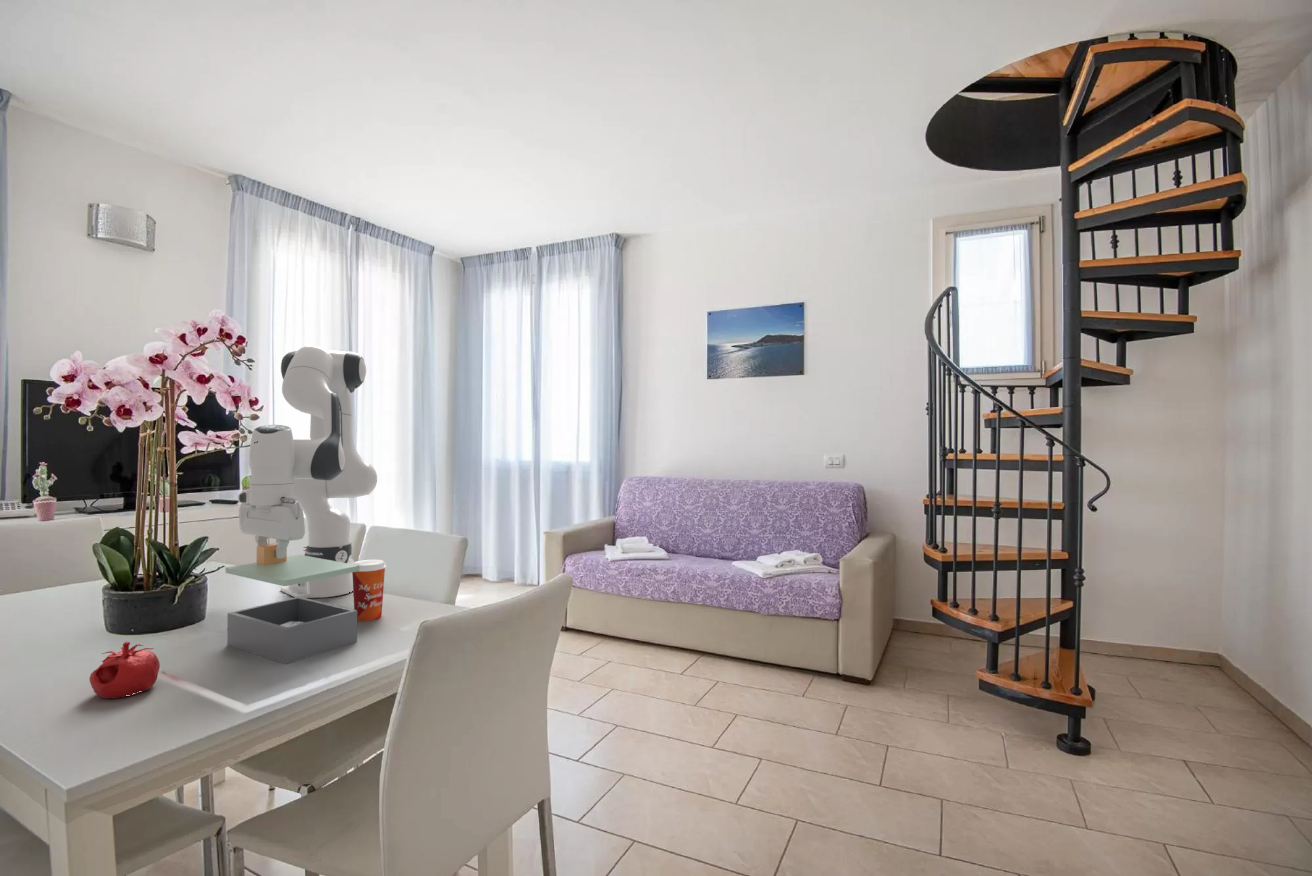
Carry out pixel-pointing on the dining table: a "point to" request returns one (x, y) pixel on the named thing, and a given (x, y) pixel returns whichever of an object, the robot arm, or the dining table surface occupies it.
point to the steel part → (291, 624)
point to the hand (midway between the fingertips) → (271, 556)
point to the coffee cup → (368, 589)
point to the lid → (289, 568)
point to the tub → (291, 629)
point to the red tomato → (125, 672)
